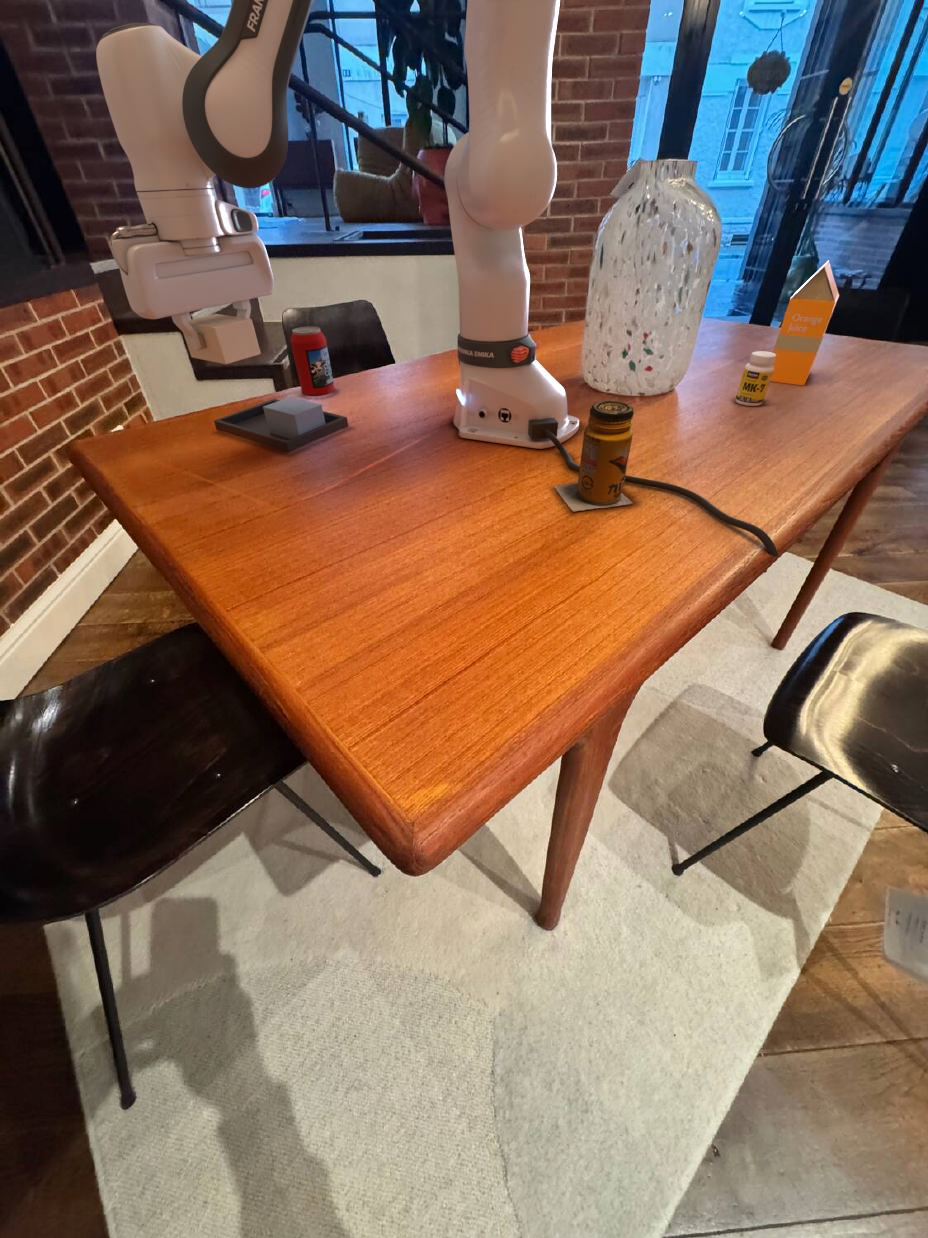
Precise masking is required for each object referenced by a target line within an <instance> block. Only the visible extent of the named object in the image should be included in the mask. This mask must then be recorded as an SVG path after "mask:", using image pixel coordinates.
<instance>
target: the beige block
mask: <svg viewBox="0 0 928 1238" xmlns="http://www.w3.org/2000/svg"><path fill="white" fill-rule="evenodd" d="M191 320H192V321H191V322H188V323H189V324H190V326H191V327H192V328H193V329H194V330H195V332H196V333H199V334H203V336H204V339H205V342H206V345H207V348H205V349H201V350H193V349H192V348H191V347H190V344H189V341H188V338H187V335H185V334H184V333H183V332H182V334H183V337H184V340H185V342H186V345H187V348H188V352H189V354H190V357H191V358H192V359H193V358H194V359H198V360H204V361H207V362H213V363H216V364H217V363H218V364H222V365H228V364H231V363H235V362H238V361H242V360H246V359H248V358H252V357H255V356H259V355H261V354H262V353H261V349H260V346H259V342H258V338H257V334H256V331H255V326H254V323H253V319H252V318H242V317H237V316H234V315H227V314H220V313H214V314H210V315H206V316H199V317H196V318H191Z"/></svg>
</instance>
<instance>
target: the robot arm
mask: <svg viewBox="0 0 928 1238" xmlns="http://www.w3.org/2000/svg"><path fill="white" fill-rule="evenodd" d="M314 1H315V0H232V2H231V5H230V10H229V12H228V16H227V19H226V22H225V25H224V28H223V30H222V32H221V35H220V36H219V37H218V39H217V40H216V41H215V43H214V44H213V45H212V46H211V47H210V48H209V49H208V50H207V51H206V52H205V53H204V54H203V55H200V54H199V53H197V52H195V51H194V50H192V49H190V48H189V47H187V46H185V45H184V44H182V43H181V42H180V41H178V40H177V39H175V38H174V37H173V36H171V35H170V34H169V33H168V32H167V31H166V30H165V28H163V27H162V26H161V25H159V24H155V23H153V22H133V23H127V24H123V25H120V26H117V27H114V28H112V29H111V28H110V29H109V30H108V31H107V32H105V33H104V34H102V36H101V37H100V38H99V41H98V42H97V46H96V50H95V51H96V52H95V53H96V55H95V56H96V57H95V58H96V65H97V70H98V71H97V72H98V75H99V79H100V84H101V87H102V91H103V95H104V99H105V102H106V106H107V107H108V108H107V109H108V111H109V116H110V118H111V121H112V125H113V128H114V131H115V133H116V137H117V139H118V141H119V144H120V146H121V147H122V150H123V152H124V153H125V155H126V156H127V157H126V158H128V161H129V163H130V165H131V169H132V174H133V182H134V188H135V192H136V195H137V198H138V201H139V203H140V207H141V209H142V212H143V215H144V218H145V221H146V223H144V224H143V223H141V224H138V225H132V226H127V225H121V226H118V227H116V228H115V232H113V233H112V234H111V236H110V238H109V248H110V251H111V254H112V256H113V259H114V262H115V263H116V265H117V266H118V267H117V268H119V272H120V276H121V280H122V284H123V288H124V291H125V295H126V297H127V301H128V304H129V306H130V308H131V310H132V311H133V312H134V313H135V314H136V315H137V316H139V317H140V318H143V319H146V320H147V319H148V320H158V319H163V318H167V317H171V319H172V322H173V324H174V325H175V326H176V327H177V328H178V329H179V330H180V331H181V332H182V334H183V333H184V334H185V335H187V338H188V341H189V344H190V347H191V348H192V349H193V350H201V349H205V348H207V345H206V342H205V339H204V336H203V334H199V333H196V332H195V330H194V329H193V328H192V327H191V326H190V324H189V323H188V322H191V321H192V320H191V319H192V317H191V315H190V312H196V311H199V310H205V309H210V308H213V307H219V306H224V305H229V304H232V306H233V309H236V310H237V312H236V317H242V318H249V319H251V318H250V317H251V313H252V312H251V311H252V306H251V303H250V300H252V299H256V298H261V297H265V296H270V295H272V294H273V293H274V289H275V277H274V273H273V269H272V265H271V262H270V258H269V255H268V252H267V249H266V245H265V243H264V241H263V240H262V238H261V237H260V236H259V235H258V234H256V233H258V231H259V229H260V228H259V222H258V218H257V216H256V215H257V214H255V213H254V212H252V211H250V210H247V209H245V208H242V207H240V206H239V207H238V206H236V205H234V204H231V203H228V202H225V201H223V200H221V199H218V196H217V193H216V189H215V186H214V185H215V184H214V178H215V176H217V177H218V178H220V179H221V180H222V181H224V182H226V183H228V184H230V185H232V186H234V187H238V188H243V189H256V188H257V189H258V188H261V187H264V186H266V185H267V184H269V183H271V182H272V181H273V180H274V179H275V178H277V176H278V175H279V173H280V172H281V170H282V168H283V166H284V165H285V162H286V158H287V155H288V148H289V118H288V88H289V83H290V79H291V74H292V72H293V68H294V65H295V61H296V58H297V54H298V51H299V49H300V45H301V42H302V39H303V36H304V32H305V29H306V25H307V24H308V23H307V22H308V19H309V16H310V13H311V11H312V10H311V9H312V6H313V4H314ZM560 3H561V0H467V3H466V15H465V31H464V46H463V56H464V61H465V66H466V72H467V87H468V88H467V89H468V90H467V91H468V113H469V114H468V115H469V118H468V119H469V120H468V121H469V124H468V126H469V127H468V128H469V129H468V131H467V132H466V133H465V134H463V135H462V136H461V137H460V138H459V139H458V140H457V142H456V143H455V145H454V146H453V148H452V149H451V151H450V153H449V155H448V158H447V161H446V164H445V167H444V177H443V181H444V189H445V193H446V197H447V205H448V214H449V215H448V216H449V222H450V224H449V225H450V231H451V239H452V245H453V251H454V252H453V253H454V258H455V266H456V273H457V287H458V288H457V289H458V313H459V315H458V316H459V317H458V318H459V333H458V334H457V359H458V365H459V382H458V388H456V395H457V401H456V406H455V411H454V416H453V421H452V423H453V425H454V426H455V427H456V428H457V429H458V436H459V437H460V438H462V439H468V440H473V441H474V440H475V441H482V442H488V443H489V442H490V443H497V444H503V445H509V446H517V447H523V448H531V449H539V450H542V449H549V448H552V447H556V449H557V451H558V452H559V453H560V455H561V456H562V457H563V460H565V463H566V465H567V466H568V468H570V469H571V470H572V471H575V472H577V473H578V474H579V469H580V464H577V463H575V462H574V461H573V460H572V458H571V456H570V454H569V453H568V451H567V449H566V447H564V446H563V444H562V443H564V442H566V441H568V440H569V439H571V438H572V437H573V436H575V434H577V432H578V431H579V429H580V419H579V418H578V417H576V416H573V415H570V414H569V413H568V398H567V392H566V390H565V388H564V386H562V385H561V384H560V383H559V382H558V381H557V379H555V378H554V376H552V375H551V374H550V372H549V371H548V370H547V369H546V368H545V367H544V366H543V365H542V364H541V363H540V362H539V361H538V360H537V355H536V352H537V351H536V350H539V349H541V348H542V346H541V344H542V342H543V340H541V339H540V340H537V341H534V340H533V338H532V337H531V334H530V333H529V331H528V330H529V309H530V287H531V286H530V285H531V275H530V271H529V268H528V264H527V260H526V255H525V249H524V243H523V242H524V241H523V232H522V228H524V227H525V226H527V225H529V224H531V223H533V222H534V221H535V220H536V219H538V218H539V217H540V216H542V215H543V213H544V212H545V210H546V209H547V208H548V206H549V204H550V203H551V201H552V198H553V196H554V193H555V189H556V185H557V178H558V177H557V176H558V171H557V170H558V167H557V159H556V155H555V152H554V149H553V145H552V73H553V71H552V70H553V56H554V49H555V43H556V42H555V41H556V33H557V26H558V20H559V12H560ZM117 237H118V238H117ZM184 334H183V335H184ZM624 483H630V484H634V485H639V486H644V487H650V488H656V489H661V490H665V491H668V492H673V493H676V494H679V495H681V496H684V497H686V498H687V499H690V500H692V501H694V502H695V503H697V504H698V505H700V506H701V507H702V508H704V509H705V510H706V511H707V512H708V513H709V514H710V515H712V516H713V517H715V518H716V519H718V520H720V521H721V522H723V523H725V524H727V525H730V526H732V527H735V528H738V529H741V530H744V531H746V532H748V533H750V534H753V535H754V536H755V537H756V538H757V539H759V541H760V542H761V543H762V545H763V546H764V547H765V550H766V552H767V554H768V555H770V556H772V557H778V556H779V554H778V553H779V552H778V549H777V547H776V545H775V543H774V541H773V539H772V538H771V537H770V536H769V535H768V534H767V533H766V531H764V530H763V529H762V528H760V527H759V526H757V525H754V524H753V523H751V522H750V523H749V522H747V521H744V520H741V519H739V518H735V517H732V516H730V515H729V514H727V513H725V512H723V511H722V510H720V509H719V508H718V507H716V506H715V505H714V504H713V503H711V502H710V501H709V500H707V499H706V498H705V497H703V496H701V495H700V494H698V493H697V492H694V491H692V490H691V489H687V488H684V487H682V486H680V485H675V484H672V483H668V482H664V481H659V480H653V479H647V478H643V477H637V476H631V475H627V474H625V480H624Z"/></svg>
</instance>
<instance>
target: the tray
mask: <svg viewBox="0 0 928 1238" xmlns="http://www.w3.org/2000/svg"><path fill="white" fill-rule="evenodd" d="M280 400H281V399H276V398H273V399H270V400H267V401H264V402H262V403H259V404H256V405H254V406H250V407H248V408H245V409H242V410H239V411H236V412H234V413H231V414H228V415H225V416H223V417H220V418H217V419H214V420H213V423H214V427H215V429H216V430H218V431H221V432H223V433H227V434H230V435H233V436H236V437H240V438H243V439H246V440H249V441H252V442H255V443H259V444H262V445H265V446H268V447H271V448H274V449H278V450H280V451H284V452H286V453H291V452H293V451H296V450H298V449H300V448H302V447H305V446H306V445H309V444H311V443H313V442H316V441H318V440H320V439H322V438H325V437H327V436H329V435H331V434H333V433H336V432H338V431H340V430H343V429H344V428H347V427H349V422H348V417H347V416H343V415H340V414H335V413H332V412H328V411H324V410H323V414H324V419H325V425H323V426H320V427H318V428H316V429H313V430H311V431H309V432H306V433H304V434H302V435H299V436H297V437H294V438H292V439H289V438H285V437H282V436H279V435H275V434H272V433H270V431H269V428H268V424H267V420H266V417H265V413H264V409H263V407H264V406H266V405H269V404H272V403H275V402H277V401H280Z"/></svg>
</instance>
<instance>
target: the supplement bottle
mask: <svg viewBox="0 0 928 1238" xmlns="http://www.w3.org/2000/svg"><path fill="white" fill-rule="evenodd" d="M775 358H776V354H774V353H773V351H772V352H771V351H766V350H765V351H764V350H757V351H752V352H751V355H750V357H749V362H748V363H746V365H745V367H744V369H743V372H742V375H741V380H740V381H739V385H738V389H737V392H736V395H735V398H734V400H735V402H736V403H737V404H739V405H742V406H747V407H757V406H761V405H762V404H763V402H764V400H765V397H766V394H767V391H768V388H769V385H770V382H771V381H770V379H771V377H772V374H773V371H774V367H773V365H772V364H774V362H775Z"/></svg>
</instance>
